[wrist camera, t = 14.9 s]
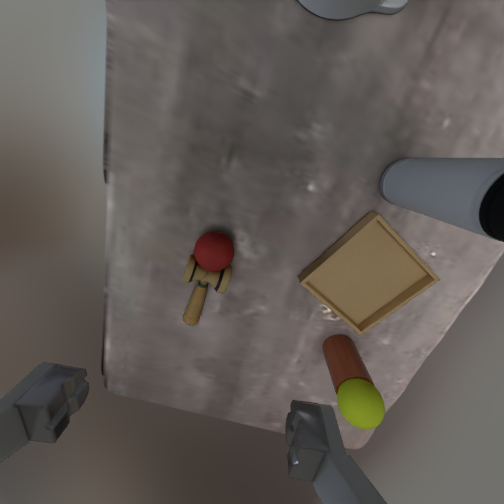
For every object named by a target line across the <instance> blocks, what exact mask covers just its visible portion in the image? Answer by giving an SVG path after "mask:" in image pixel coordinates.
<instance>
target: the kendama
mask: <svg viewBox="0 0 504 504" xmlns="http://www.w3.org/2000/svg"><path fill="white" fill-rule="evenodd" d="M233 257H234V246H233V243H232V241H231V240H230V238H229V237H227V236H226V235H225V234H223V233H220V232H208V233H205V234H204V235H202V236H201V237H200V238H199V239H198V240H197V242H196V244H195V248H194V255H190V258H189V261H188V264H187V267H186V271H185V274H184V276H183V279H182V281H184V282H186V283H189V282H191V281H195V280H199V283H198V285H197V287H196V288H195V290H194V292H193V295H192V297H191V299H190V302H189V304H188V306H187V309H186V311H185V313H184V315H183V321H184V322H185V323H186V324H188V325H195V324H197V323H198V322H199V319H200V314H201V311H202V307H203V303H204V300H205V296H206V291H207V286H208V283H209V284H211V285H212V286H213V287H214V289H215V290H216V292H217V293H222V294H223V293H224V292H225V291H226V289H227V287H228V284H229V281H230V278H231V274H232V266H231V265H229V264H230V263H231V262H232V260H233Z"/></svg>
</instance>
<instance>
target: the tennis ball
mask: <svg viewBox="0 0 504 504" xmlns="http://www.w3.org/2000/svg"><path fill="white" fill-rule="evenodd" d="M337 402H338V406H339V409H340V411H341V413H342V415H343V416H344V418H345V419H346V420H347V421H348V422H349V423H351V424H352V425H354V426H355V427H358V428H361V429H372V428H374V427H376V426H377V425H379V424H380V422H381V421H382V419H383V417H384V412H385V407H384V402H383V399H382V396H381V394H380V393H379V391H378V390H377V389H376V387H375V386H373V385H372V384H371V383H370V382H368V381H366V380H364V379H361V378H352V379H349V380H346V381H345V382H343V383H342V384H341V386H340V387H339V390H338V393H337Z"/></svg>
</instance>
